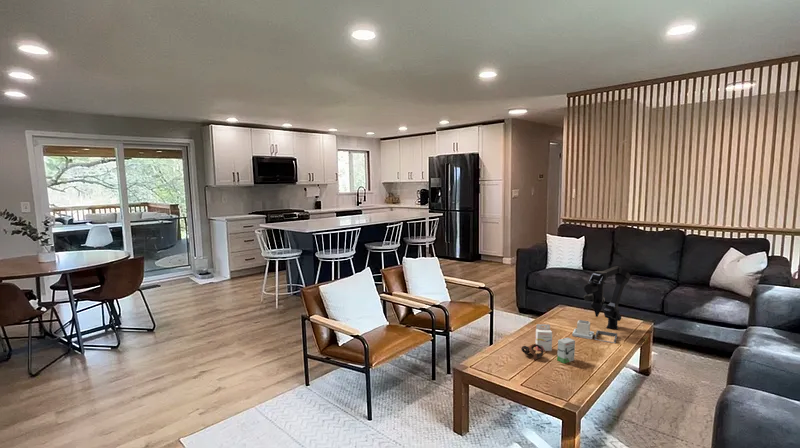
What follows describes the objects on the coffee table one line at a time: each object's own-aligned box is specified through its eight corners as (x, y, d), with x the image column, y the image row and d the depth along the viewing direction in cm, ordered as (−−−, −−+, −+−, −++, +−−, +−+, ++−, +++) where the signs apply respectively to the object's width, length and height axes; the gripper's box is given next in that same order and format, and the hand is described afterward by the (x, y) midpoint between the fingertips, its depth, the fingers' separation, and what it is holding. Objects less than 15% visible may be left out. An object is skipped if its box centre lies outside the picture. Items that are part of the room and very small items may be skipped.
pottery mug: (539, 353, 236) (544, 344, 231) (540, 366, 228) (545, 358, 224) (519, 347, 237) (523, 338, 233) (518, 360, 230) (523, 351, 225)
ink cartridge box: (537, 350, 238) (537, 326, 237) (535, 347, 243) (535, 323, 242) (552, 351, 237) (552, 327, 236) (549, 347, 242) (550, 324, 241)
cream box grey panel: (578, 331, 264) (578, 319, 263) (589, 333, 261) (590, 321, 260) (576, 334, 260) (577, 321, 259) (588, 336, 256) (589, 323, 256)
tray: (574, 331, 268) (574, 328, 267) (594, 334, 261) (594, 331, 261) (572, 336, 259) (572, 333, 259) (592, 339, 253) (592, 336, 253)
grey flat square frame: (596, 333, 263) (597, 330, 263) (617, 336, 257) (617, 333, 257) (594, 339, 253) (594, 336, 253) (615, 343, 247) (615, 340, 246)
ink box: (564, 363, 221) (564, 343, 220) (556, 360, 226) (557, 340, 224) (574, 360, 225) (575, 339, 224) (567, 357, 230) (568, 336, 228)
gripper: (586, 286, 274) (586, 308, 275) (582, 293, 258) (581, 316, 260) (605, 288, 268) (604, 311, 270) (602, 295, 252) (601, 319, 254)
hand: (597, 314), depth 263 cm, fingers open, 9 cm apart
